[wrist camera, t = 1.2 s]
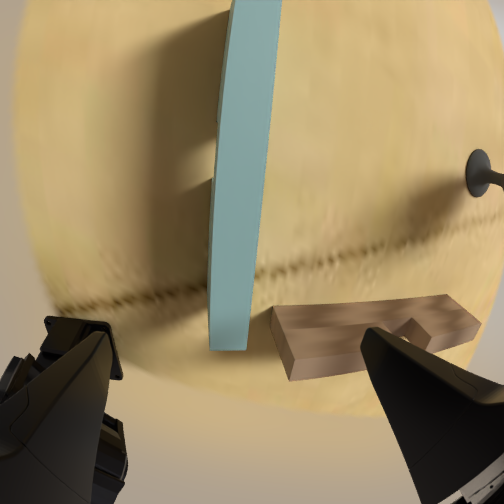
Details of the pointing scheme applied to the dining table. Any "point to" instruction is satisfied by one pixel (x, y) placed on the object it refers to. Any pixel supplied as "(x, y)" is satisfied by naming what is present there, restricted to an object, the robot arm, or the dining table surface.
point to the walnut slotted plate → (363, 331)
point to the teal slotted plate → (240, 167)
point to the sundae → (481, 174)
